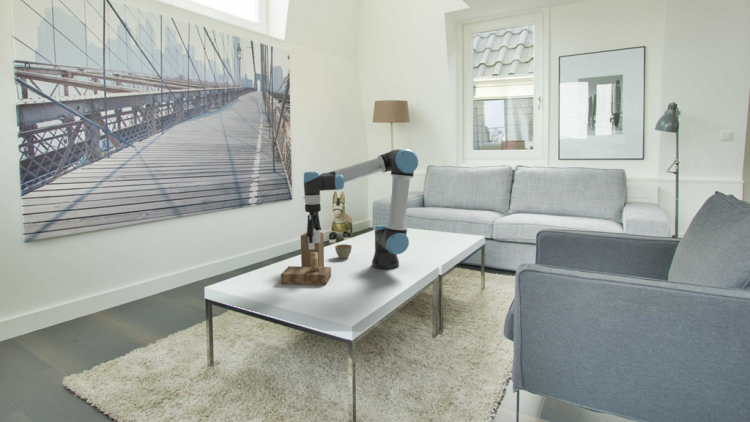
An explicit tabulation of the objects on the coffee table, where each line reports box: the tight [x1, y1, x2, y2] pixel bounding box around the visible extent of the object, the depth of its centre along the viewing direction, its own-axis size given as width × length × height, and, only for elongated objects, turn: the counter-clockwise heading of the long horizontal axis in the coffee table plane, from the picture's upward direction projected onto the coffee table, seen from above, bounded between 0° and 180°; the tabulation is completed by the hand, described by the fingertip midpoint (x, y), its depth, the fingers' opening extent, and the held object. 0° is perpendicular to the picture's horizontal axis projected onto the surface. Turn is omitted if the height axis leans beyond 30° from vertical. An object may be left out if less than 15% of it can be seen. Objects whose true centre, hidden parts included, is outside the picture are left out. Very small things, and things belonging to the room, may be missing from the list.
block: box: [300, 231, 325, 267], centre depth 233 cm, size 10×10×20 cm
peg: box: [310, 252, 318, 272], centre depth 215 cm, size 4×4×14 cm
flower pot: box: [334, 243, 353, 260], centre depth 259 cm, size 10×10×7 cm
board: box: [280, 265, 332, 286], centre depth 216 cm, size 22×14×5 cm, turn 86°
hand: (314, 246), depth 213 cm, fingers open, 13 cm apart
